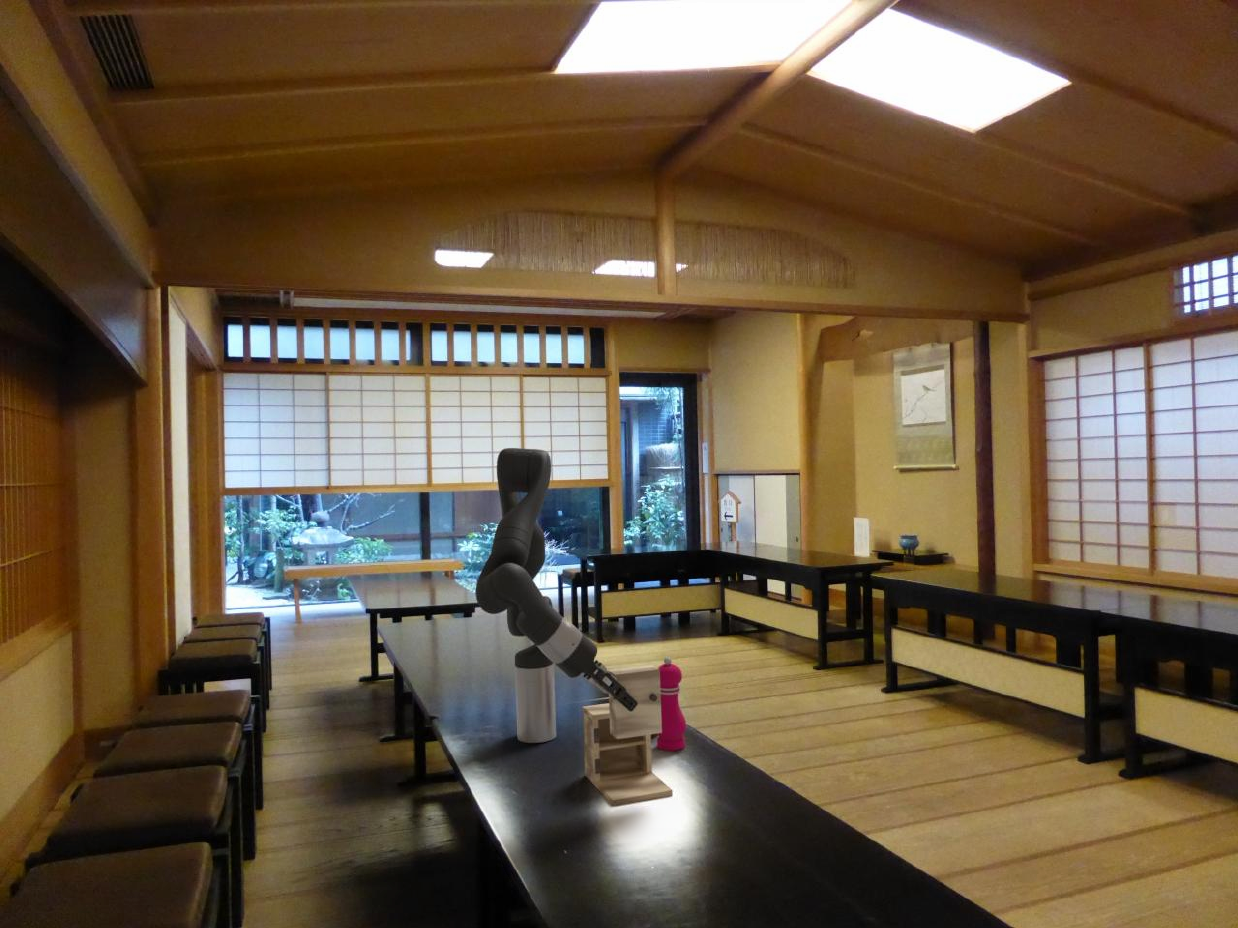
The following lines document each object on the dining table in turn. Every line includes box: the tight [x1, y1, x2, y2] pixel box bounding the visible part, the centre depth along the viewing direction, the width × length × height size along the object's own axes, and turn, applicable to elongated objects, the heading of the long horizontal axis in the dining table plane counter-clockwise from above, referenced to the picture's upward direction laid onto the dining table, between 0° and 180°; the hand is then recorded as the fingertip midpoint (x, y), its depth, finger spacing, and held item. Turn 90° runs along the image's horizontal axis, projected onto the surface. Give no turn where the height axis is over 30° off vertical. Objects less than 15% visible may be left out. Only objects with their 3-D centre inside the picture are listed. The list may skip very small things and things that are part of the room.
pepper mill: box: [656, 656, 687, 752], centre depth 186 cm, size 7×7×20 cm
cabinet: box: [582, 702, 673, 807], centre depth 164 cm, size 18×12×14 cm
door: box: [607, 664, 662, 739], centre depth 157 cm, size 5×9×12 cm, turn 109°
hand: (629, 703), depth 157 cm, fingers closed on door, 4 cm apart
